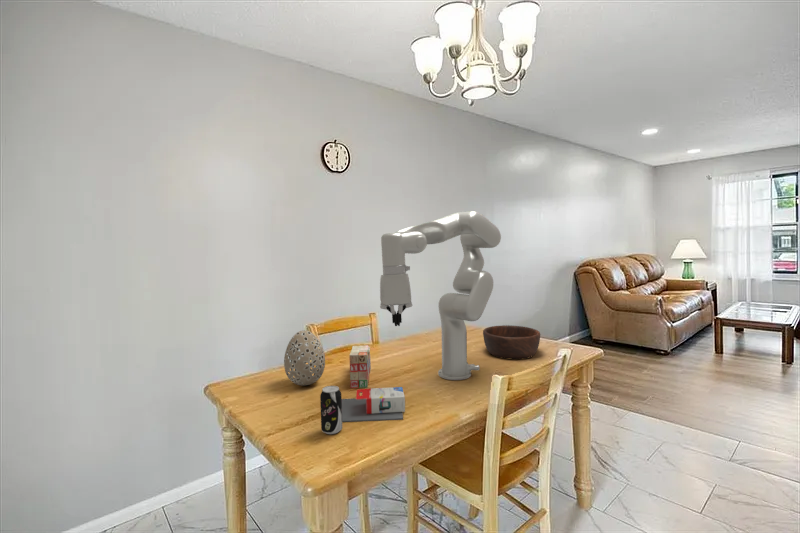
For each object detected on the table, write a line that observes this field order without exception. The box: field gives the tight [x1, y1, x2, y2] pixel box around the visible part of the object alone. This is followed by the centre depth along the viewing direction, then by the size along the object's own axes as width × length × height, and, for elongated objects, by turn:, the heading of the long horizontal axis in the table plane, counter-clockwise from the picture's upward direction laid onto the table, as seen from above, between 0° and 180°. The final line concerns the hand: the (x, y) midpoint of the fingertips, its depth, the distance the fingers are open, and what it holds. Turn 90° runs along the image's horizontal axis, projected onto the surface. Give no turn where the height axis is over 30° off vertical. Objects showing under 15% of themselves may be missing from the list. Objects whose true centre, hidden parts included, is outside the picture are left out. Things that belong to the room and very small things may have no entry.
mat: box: [342, 397, 404, 423], centre depth 123 cm, size 20×16×1 cm
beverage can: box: [319, 385, 343, 435], centre depth 109 cm, size 6×6×12 cm
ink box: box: [355, 386, 406, 414], centre depth 122 cm, size 8×5×15 cm
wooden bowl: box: [482, 324, 541, 360], centre depth 179 cm, size 25×25×10 cm
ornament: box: [283, 329, 326, 386], centre depth 145 cm, size 15×15×20 cm
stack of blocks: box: [349, 344, 372, 389], centre depth 151 cm, size 21×6×12 cm, turn 1°
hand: (397, 325), depth 132 cm, fingers closed
